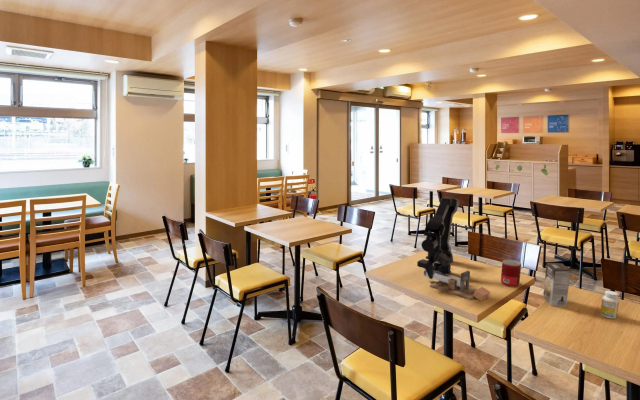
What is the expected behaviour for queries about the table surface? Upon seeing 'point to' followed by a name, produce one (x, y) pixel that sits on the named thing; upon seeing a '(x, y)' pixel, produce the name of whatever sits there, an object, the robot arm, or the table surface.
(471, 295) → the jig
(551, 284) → the coffee box
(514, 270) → the canned food
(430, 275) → the robot arm
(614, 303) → the supplement bottle
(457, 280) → the shaft
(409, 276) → the table surface
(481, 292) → the block
